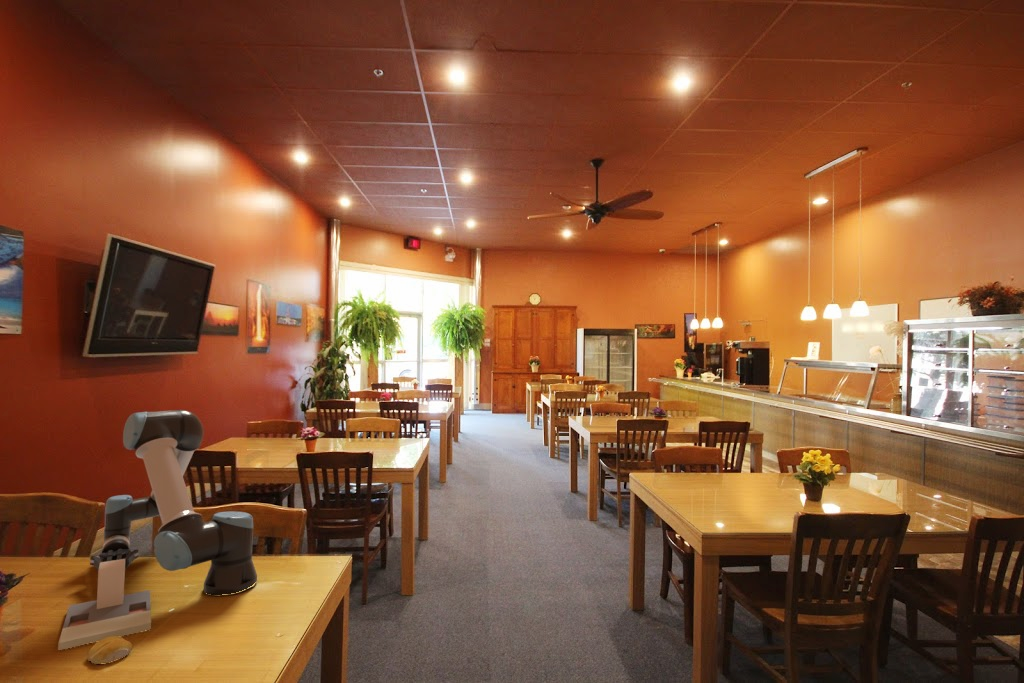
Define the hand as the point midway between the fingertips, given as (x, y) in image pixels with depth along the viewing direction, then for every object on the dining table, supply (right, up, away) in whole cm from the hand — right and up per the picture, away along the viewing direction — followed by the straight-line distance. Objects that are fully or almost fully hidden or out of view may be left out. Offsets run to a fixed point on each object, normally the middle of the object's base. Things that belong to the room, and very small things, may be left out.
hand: (112, 573), depth 160 cm
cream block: (+5, -5, -7) cm, 10 cm away
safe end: (+13, -7, -20) cm, 25 cm away
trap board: (+7, -7, -10) cm, 14 cm away
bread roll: (+22, -7, -30) cm, 38 cm away
